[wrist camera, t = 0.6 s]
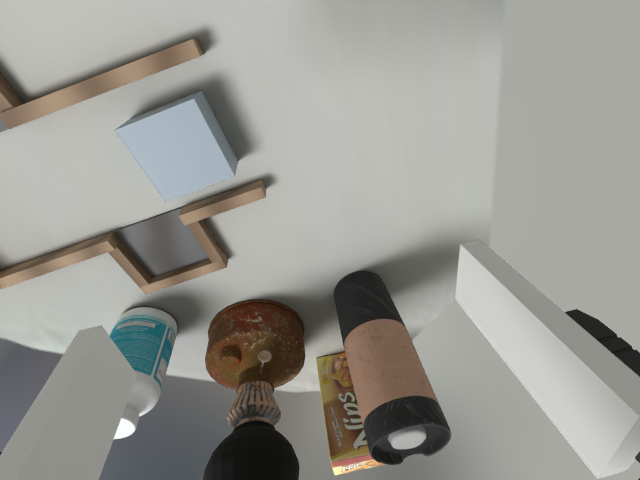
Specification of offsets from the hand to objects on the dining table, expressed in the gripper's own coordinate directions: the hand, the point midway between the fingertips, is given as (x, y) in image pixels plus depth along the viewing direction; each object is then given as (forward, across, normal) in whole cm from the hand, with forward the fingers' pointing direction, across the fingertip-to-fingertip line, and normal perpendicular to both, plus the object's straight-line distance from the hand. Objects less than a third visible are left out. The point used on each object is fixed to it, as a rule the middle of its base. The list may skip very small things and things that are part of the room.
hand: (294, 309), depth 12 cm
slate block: (+24, -8, +2) cm, 25 cm away
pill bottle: (+26, -21, -20) cm, 39 cm away
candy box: (+26, +4, -37) cm, 45 cm away
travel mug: (+25, +7, -22) cm, 34 cm away
